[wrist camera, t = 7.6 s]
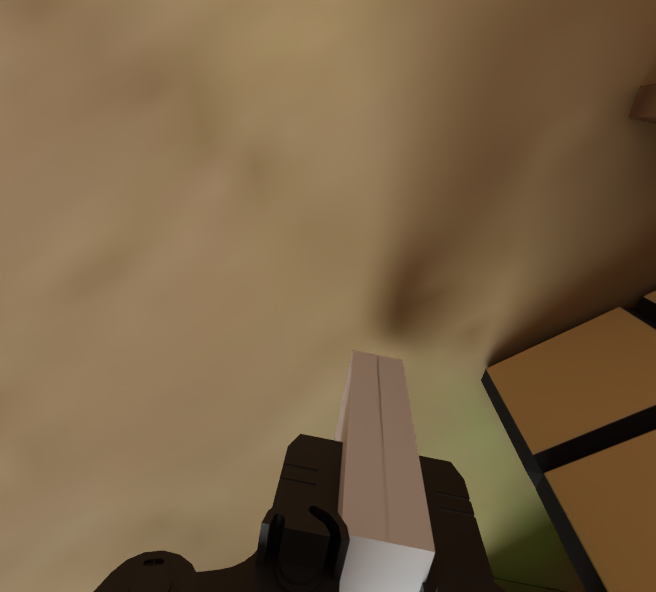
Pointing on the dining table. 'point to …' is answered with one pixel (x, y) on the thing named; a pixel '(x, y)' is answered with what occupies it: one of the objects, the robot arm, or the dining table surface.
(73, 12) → the dining table surface
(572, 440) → the puzzle cube
